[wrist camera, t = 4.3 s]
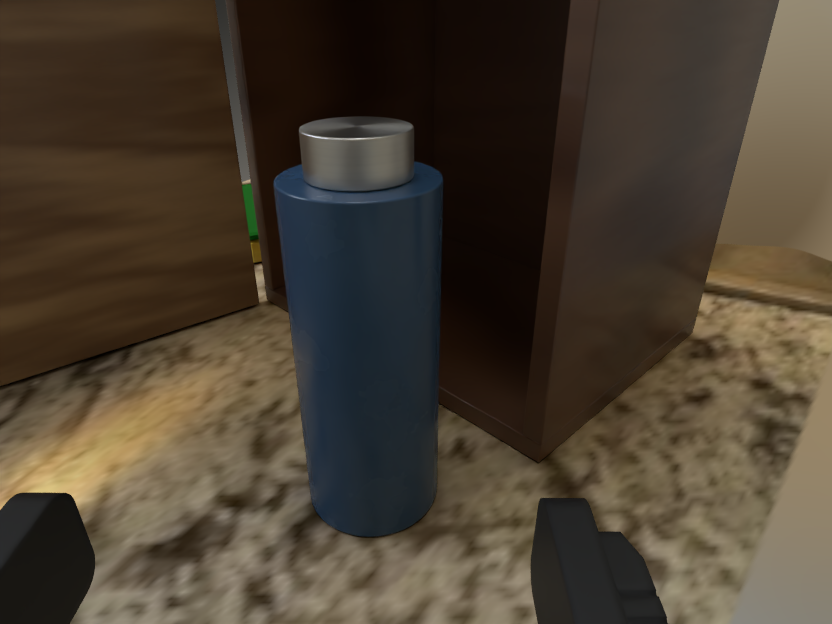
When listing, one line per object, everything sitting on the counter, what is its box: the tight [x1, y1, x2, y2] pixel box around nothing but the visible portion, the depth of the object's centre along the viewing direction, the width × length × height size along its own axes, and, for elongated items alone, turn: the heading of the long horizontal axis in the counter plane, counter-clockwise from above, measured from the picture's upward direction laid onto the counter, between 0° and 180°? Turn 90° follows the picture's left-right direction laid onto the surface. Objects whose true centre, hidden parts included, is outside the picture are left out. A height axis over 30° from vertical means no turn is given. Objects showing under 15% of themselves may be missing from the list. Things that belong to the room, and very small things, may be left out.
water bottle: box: [273, 116, 443, 537], centre depth 21 cm, size 5×5×14 cm
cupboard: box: [226, 0, 779, 462], centre depth 31 cm, size 16×22×24 cm
